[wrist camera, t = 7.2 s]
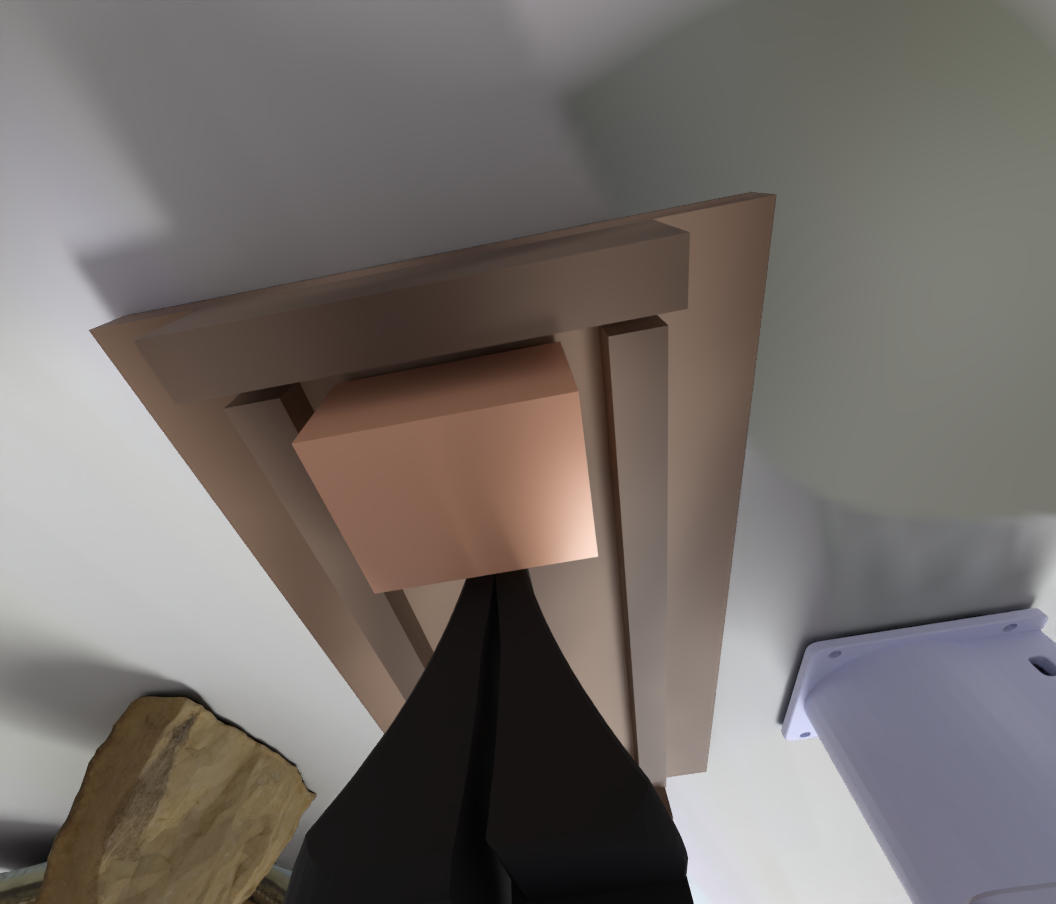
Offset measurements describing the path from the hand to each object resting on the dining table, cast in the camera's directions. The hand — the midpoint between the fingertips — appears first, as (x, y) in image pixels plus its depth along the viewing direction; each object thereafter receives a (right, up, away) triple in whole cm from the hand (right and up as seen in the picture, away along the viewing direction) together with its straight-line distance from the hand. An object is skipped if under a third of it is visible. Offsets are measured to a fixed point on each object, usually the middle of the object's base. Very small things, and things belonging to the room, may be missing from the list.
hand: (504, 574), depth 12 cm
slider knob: (-1, +4, -2) cm, 4 cm away
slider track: (+1, -3, +4) cm, 5 cm away
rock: (-13, -10, +8) cm, 19 cm away
